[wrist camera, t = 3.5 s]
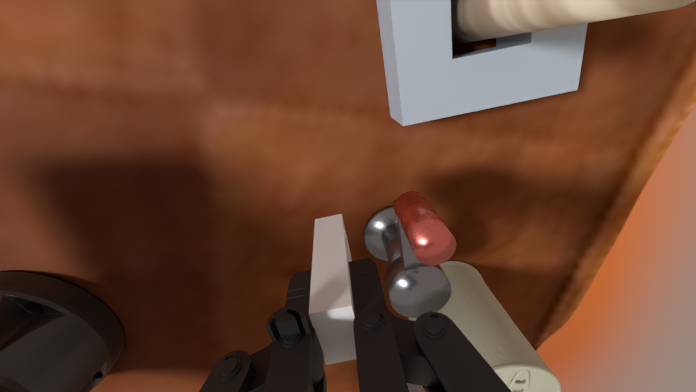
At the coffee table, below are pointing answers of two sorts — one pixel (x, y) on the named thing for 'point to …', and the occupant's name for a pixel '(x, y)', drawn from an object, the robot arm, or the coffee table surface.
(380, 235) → the crank post
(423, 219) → the chrome ball lever
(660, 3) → the dowel
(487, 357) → the can
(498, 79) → the block
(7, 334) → the robot arm
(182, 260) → the coffee table surface
